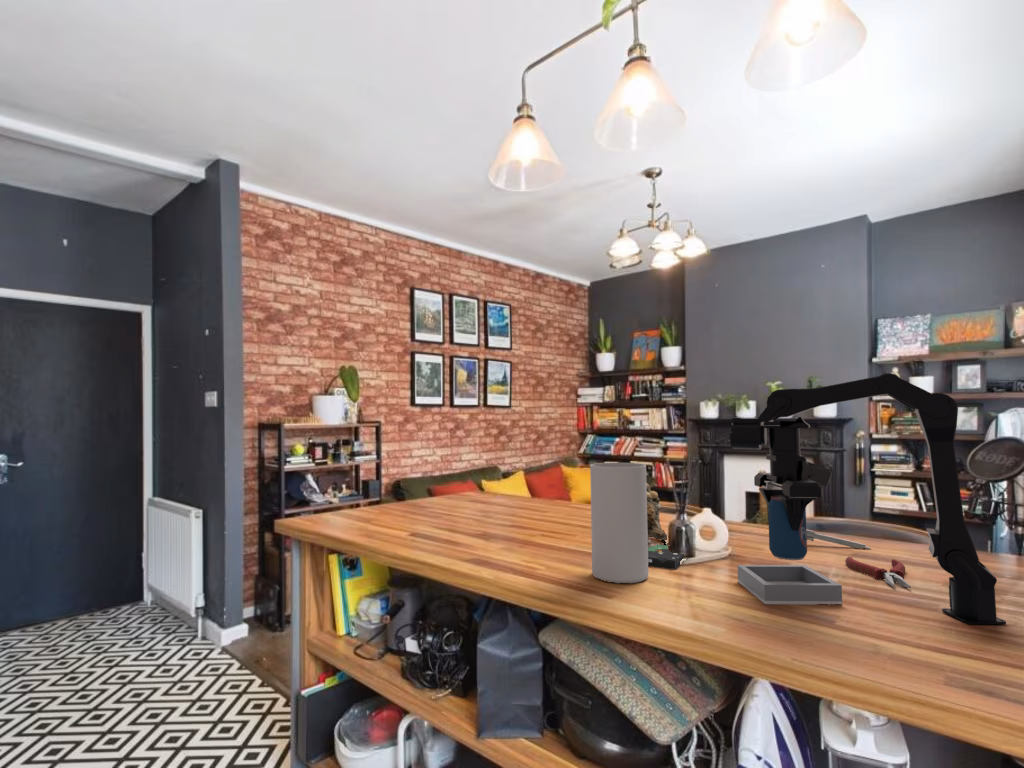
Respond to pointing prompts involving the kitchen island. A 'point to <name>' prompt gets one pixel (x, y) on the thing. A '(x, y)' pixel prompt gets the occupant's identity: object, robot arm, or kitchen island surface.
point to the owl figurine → (654, 516)
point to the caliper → (834, 540)
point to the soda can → (785, 533)
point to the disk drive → (663, 557)
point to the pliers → (881, 571)
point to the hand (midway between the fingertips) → (787, 526)
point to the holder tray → (789, 584)
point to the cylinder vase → (619, 522)
